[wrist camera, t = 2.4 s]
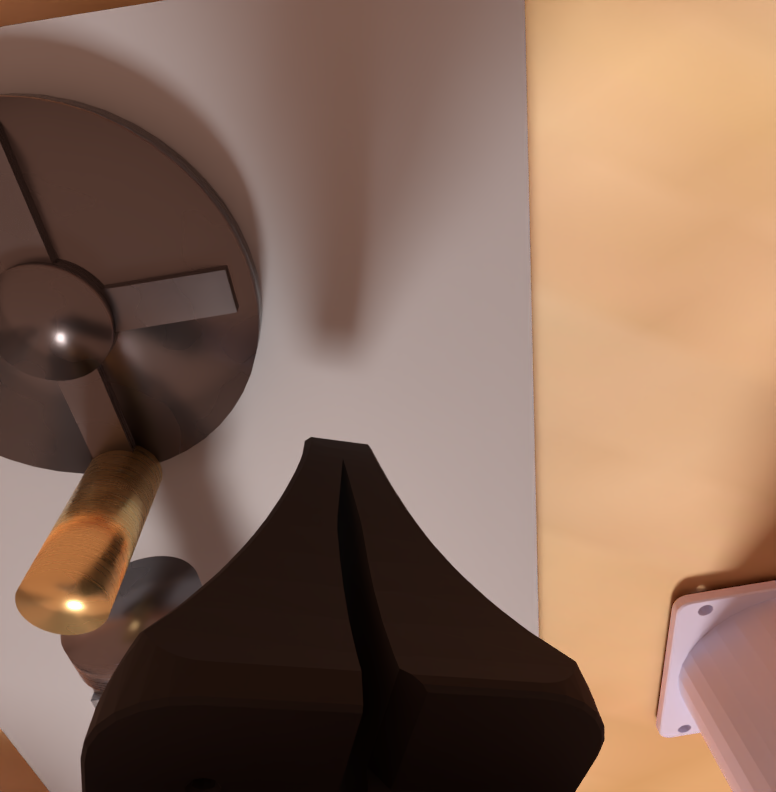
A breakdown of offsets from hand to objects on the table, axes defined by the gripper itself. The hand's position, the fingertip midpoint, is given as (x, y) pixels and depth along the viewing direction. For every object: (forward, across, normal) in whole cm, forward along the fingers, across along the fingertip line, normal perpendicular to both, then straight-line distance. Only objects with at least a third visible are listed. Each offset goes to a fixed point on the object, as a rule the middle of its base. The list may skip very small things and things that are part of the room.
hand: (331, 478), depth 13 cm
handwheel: (+2, +6, -2) cm, 6 cm away
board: (+4, +3, +4) cm, 6 cm away
